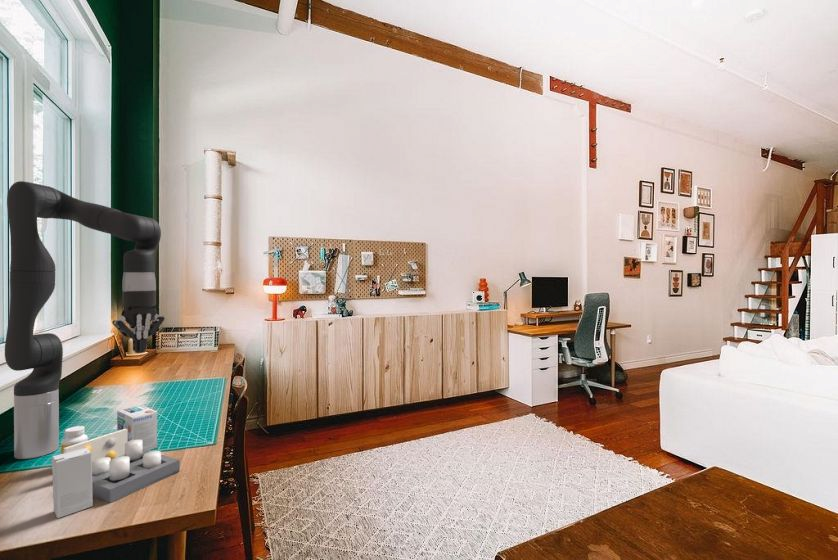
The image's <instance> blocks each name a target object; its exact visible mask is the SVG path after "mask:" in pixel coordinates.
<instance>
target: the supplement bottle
mask: <svg viewBox="0 0 838 560" xmlns="http://www.w3.org/2000/svg"><path fill="white" fill-rule="evenodd" d="M64 436H65V437H64V438H63V439H61V441H60V454H64V448H66V447H69V446H72V445H75V444H78V443H81V442H85V441H88V440H89V438H88V435H87V434H85V426H84V425H75V426H73V427H68V428H66V429H64Z"/></svg>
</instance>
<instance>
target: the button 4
mask: <svg viewBox="0 0 838 560" xmlns="http://www.w3.org/2000/svg"><path fill="white" fill-rule="evenodd" d="M161 455H162V451H159V450H151V451H150V452H148V453H146V454H144V455H143V468H146V469H151V468H153V467H155V466H158V465H160V464H161Z"/></svg>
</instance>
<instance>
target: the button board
mask: <svg viewBox="0 0 838 560" xmlns="http://www.w3.org/2000/svg"><path fill="white" fill-rule="evenodd" d="M148 452H151V450H149V451H147V450H143V455H144V454H146V453H148ZM122 456H125V455H122ZM122 456H119V457H122ZM111 460H112V459H111ZM180 463H181V460H180V459H178V458H174V457H171V456H168V455H163V454H161V464H160V465H158V466H155V467H153V468H151V469H146V468H143V456H142V457H141V458H139V459H137V460H133V461H130V475H129V476H128V477H126V478H124V479H121V480H115V481H112V480H110V479H109V472H106V473H104V474H101V475H99V476H96V477H95V476H92V497H94V498H95V499H99V500H102V501H104V502H106V503H109V504H112V503H114V502H116V501H118V500H120V499H123V498H124V497H125V498H126V497H127V496H129V495H131V494H133V493H137V492H138V491H141V490H142V489H143V490H144V489H145V488H146V487H149V486H151V485H153V484H155V483H158V482H160V481H162V480H164V479H167V478H168V477H169V478H170V477H172V476H174V475H175V474H178V473H180V470H181V469H180Z"/></svg>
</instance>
